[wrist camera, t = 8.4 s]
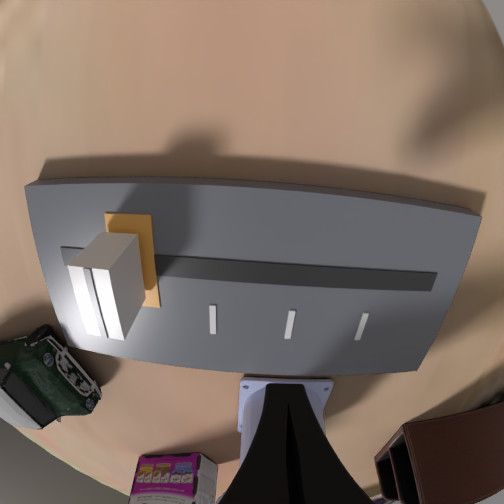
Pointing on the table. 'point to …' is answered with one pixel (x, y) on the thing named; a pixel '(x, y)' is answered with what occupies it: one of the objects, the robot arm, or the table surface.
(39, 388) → the miniature car
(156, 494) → the candy bar box
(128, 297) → the fader knob
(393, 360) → the console board
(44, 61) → the table surface
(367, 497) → the robot arm
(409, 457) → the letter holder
